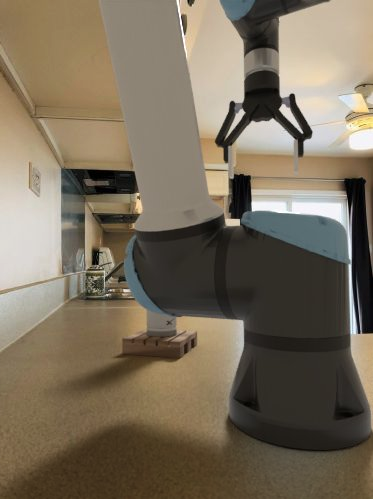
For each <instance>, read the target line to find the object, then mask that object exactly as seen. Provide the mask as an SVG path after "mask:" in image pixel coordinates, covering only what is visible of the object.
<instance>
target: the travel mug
mask: <svg viewBox="0 0 373 499" xmlns="http://www.w3.org/2000/svg"><path fill="white" fill-rule="evenodd" d="M177 318H178V317H171V316H169V315H166V314H159V313H153V312H151V311H149V310H147V309H146V328H147V335H148V336H151V337H171V336H174V335H176V334H177V330H178V329H177V325H178V324H177V322H178V321H177Z"/></svg>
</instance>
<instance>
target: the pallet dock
mask: <svg viewBox="0 0 373 499" xmlns="http://www.w3.org/2000/svg"><path fill="white" fill-rule="evenodd" d="M121 340H122V343H121V344H122V347H121V350H122V355H135V356H146V357H147V356H149V357H160V358H161V357H162V358H163V357H164V358H175V359H181V358H183V357H184V356H185V353H189V352H190V351H192V348H195V347H196V346H197V345H198V330H183V329H177V334H176V335H174V336H171V337H151V336H148V335H147V327H146V328H145V329H142V330H139V331H137V332H135V333H132V334H129V335H126V336H125V337H123V338H122V339H121Z"/></svg>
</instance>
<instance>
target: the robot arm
mask: <svg viewBox="0 0 373 499" xmlns="http://www.w3.org/2000/svg"><path fill="white" fill-rule="evenodd" d="M331 1H332V0H219V2H220V6H221V7H222V9H223V12H224V14H225V16H226V18H227V19H228V20H229V21H230V22H231V24H232V26H233V27H234V29H235V30H236V32H237V34H238V36H239V37H240V39H241V40H242V43H243V79H244V80H243V101H242V102H235V100H231V101H230V102H229V104H228V112H227V114H226V115H225V118H224V120H223V122H222V125H221V126H220V129H219V131H218V133H217V135H216V138H215V140H214V143H215V145H216V147H217V148H222V150H223V151H222V152H223V162H224V164H228V166H227V168H228V173H227V174H228V177H229V179H232V180H233V179H234V178H235V176H234V175H235V171H234V166H235V163H234V160H235V159H234V157H235V156H234V148H233V145H234V143H235V142H236V141H237V140H238V139H239V137H240V136H241V134H242V133H243V132H244V131H245V129H246V128H247V127H248V126H249V125H250V124H251V123H252V122H253V123H260V122H270V121H271V120H274V121H275V122H276V123H278V125H280V126H281V127H282V128H283V129H284V131H286V132H287V133H288V134H289V135H290V136H291V137H292V138H293V139H294V140H293V174H294V175H299V159H300V158H303V157H304V153H305V150H304V148H305V146H304V143H305V141H306V140H310V139H312V137H313V133H314V131H313V130H312V128H311V126H310V124H309V123H308V121H307V120H306V117H305V116H304V114H303V112H302V111H301V109H300V107H299V106H298V104H297V101H296V94H295V93H290V94H289V95H288V96H283V97H282V96H281V94H280V93H281V90H280V89H281V88H280V87H281V86H280V85H281V83H280V82H281V81H280V78H281V77H280V36H279V35H280V32H279V31H280V30H279V28H280V18H281V17H283V16H286V15H290V14H293V13H296V12H299V11H302V10H306V9H309V8H311V7H315V6H317V5H321V4H325V3H330V2H331ZM98 4H99V9H100V14H101V18H102V23H103V27H104V32H105V37H106V41H107V42H106V43H107V48H108V51H109V56H110V60H111V65H112V66H111V67H112V71H113V75H114V80H115V85H116V89H117V94H118V98H119V99H118V100H119V104H120V109H121V113H122V118H123V122H124V127H125V133H126V137H127V142H128V147H129V151H130V156H131V161H132V165H133V166H132V167H133V169H134V171H133V172H134V175H135V179H136V184H137V189H138V194H139V200H140V203H141V208H142V210H141V212H140V214H139V216H138V217H137V219H136V220H135V222H134V224H133V229H134V232H135V234H134V235H133V236H132V237H131V238H130V240H129V242H128V243H127V245H126V248H125V254H126V255H127V257H125V258H124V261H123V269H124V270H123V272H124V277H125V281H126V285H127V286H128V289H129V292H130V293H131V295H132V297H133V298H134V299H135V301H136V302H137V303H138V304H139V305H140V307H142V308H143V309H145V310H146V311H147V310H149V311H151V312H153V313H159V314H166V315H169V316H171V317H177V318H182V317H191V318H192V317H193V318H205V319H219V320H233V321H235V320H236V321H242V324H243V325H242V326H243V347H242V348H243V349H242V351H241V355H240V358H239V362H238V364H237V368H236V371H235V374H234V377H233V379H232V380H233V381H232V384H231V387H230V391H229V396H228V402H229V403H228V406H229V407H228V410H229V412H228V415H229V419H230V420H231V422H232V423H233V424H234V425H235V427H237V428H238V429H240V430H241V431H242V432H244V433H246V434H247V435H249V436H251V437H254V438H256V439H258V440H261V441H263V442H265V443H271V444H274V445H277V446H283V447H286V448H293V449H299V450H315V451H319V450H320V451H323V450H324V451H325V450H326V451H328V450H339V449H344V448H349V447H352V446H356V445H358V444H361V443H363V442H364V441H365V440H367V439H368V438H369V437H370V435H371V432H372V413H371V412H372V410H371V406H370V405H371V404H370V403H369V398H368V397H367V394H366V392H365V389H364V388H365V387H364V385H363V383H362V379H361V377H360V375H359V374H360V373H359V372H358V369H357V367H356V362H355V361H354V357H353V354H352V345H351V344H352V341H351V310H350V309H351V308H350V307H351V306H350V303H351V302H350V282H349V281H350V279H349V278H350V274H349V273H350V272H349V270H350V269H349V265H351V264H352V260H351V258H350V257H349V256H350V255H349V245H348V242H349V241H348V233H347V230H346V228H345V226H344V225H343V224H342V222H340V221H338V220H337V219H334V218H332V217H328V216H324V215H319V214H312V213H305V212H298V211H297V212H295V211H293V212H292V211H284V210H282V211H281V210H253V211H248V210H247V211H246V212H244V213H243V214H242V217H241V218H240V224H241V225H227V223H226V216H225V211H224V208H223V207H222V206H220V204H218V203H217V202H215V201H214V200H212V198H211V197H210V193H209V192H210V191H209V186H208V181H207V180H208V179H207V175H206V174H207V173H206V168H205V161H204V156H203V149H202V142H201V137H200V131H199V130H200V129H199V124H198V117H197V111H196V106H195V99H194V93H193V87H192V81H191V74H190V68H189V67H190V66H189V62H188V54H187V50H186V49H187V48H186V42H185V36H184V29H183V25H182V24H183V23H182V16H181V11H180V5H179V0H98ZM282 105H285V107H286V109H287V108H289V111H290V112H291V114H292V116H293V118H294V119H295V122H296V123H297V124H298V126H299V128H300V129H301V130H299V129H298V128H297V127H296V126H295V125H294V124H293V123H292V121H290V120H289V119H288V118H287V117H286V116H285V115H284V114H283V112H281V110H280V108H281V107H283V106H282ZM240 110H243V112H244V114H243V115H242V117H241V119H240V120H239V121H238V123H237V124H236V125H235V127H234V128H233V129H232V130H231V131H230V129H231V127H232V126H233V123H234V121H235V118H236V115H237V114H239V113H240ZM229 131H230V133H229ZM301 131H302V132H301Z"/></svg>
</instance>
